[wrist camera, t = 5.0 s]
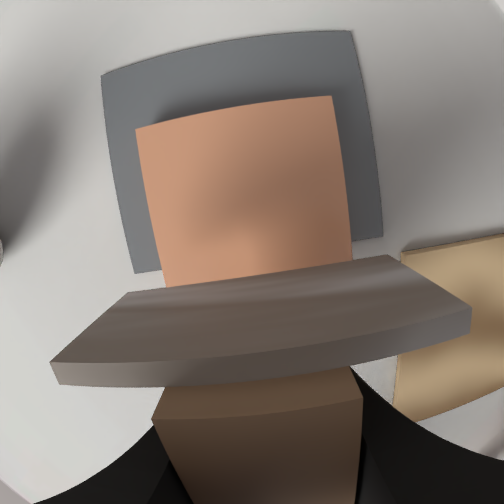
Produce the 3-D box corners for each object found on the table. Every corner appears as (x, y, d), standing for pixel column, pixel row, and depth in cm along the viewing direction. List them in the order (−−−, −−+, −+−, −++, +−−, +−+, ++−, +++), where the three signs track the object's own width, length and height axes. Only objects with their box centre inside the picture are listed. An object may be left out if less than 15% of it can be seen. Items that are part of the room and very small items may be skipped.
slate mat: (381, 235, 14) (383, 236, 14) (136, 272, 15) (134, 273, 15) (348, 32, 12) (349, 30, 12) (102, 76, 12) (100, 75, 12)
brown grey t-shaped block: (386, 388, 11) (444, 498, 5) (168, 416, 12) (126, 530, 6) (387, 254, 10) (500, 326, 4) (127, 292, 11) (25, 384, 5)
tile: (352, 263, 13) (331, 95, 11) (167, 290, 13) (135, 129, 12) (344, 255, 14) (324, 102, 13) (175, 279, 15) (146, 132, 13)
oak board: (517, 373, 17) (520, 377, 16) (389, 423, 17) (392, 429, 17) (544, 224, 14) (549, 226, 13) (400, 252, 14) (405, 255, 14)
